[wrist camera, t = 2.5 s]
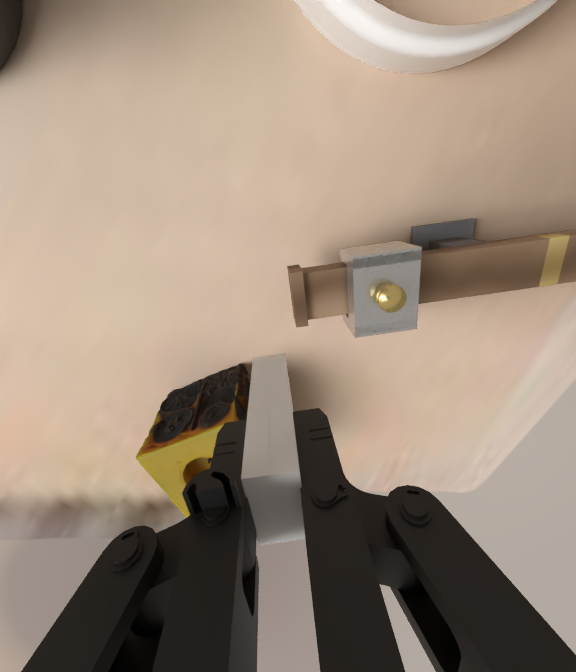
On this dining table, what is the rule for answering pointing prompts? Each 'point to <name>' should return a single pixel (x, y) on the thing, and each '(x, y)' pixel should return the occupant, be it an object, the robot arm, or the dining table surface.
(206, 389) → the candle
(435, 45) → the white hoop ring
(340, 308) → the beam
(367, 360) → the dining table surface
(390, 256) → the rider
